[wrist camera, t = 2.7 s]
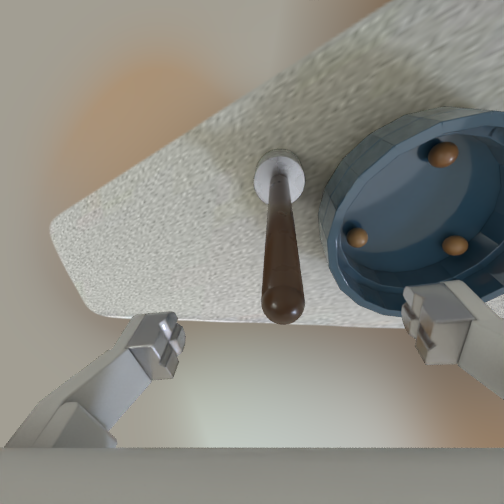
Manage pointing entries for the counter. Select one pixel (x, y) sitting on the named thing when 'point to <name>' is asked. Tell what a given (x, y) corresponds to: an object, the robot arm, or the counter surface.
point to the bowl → (418, 208)
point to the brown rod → (281, 235)
